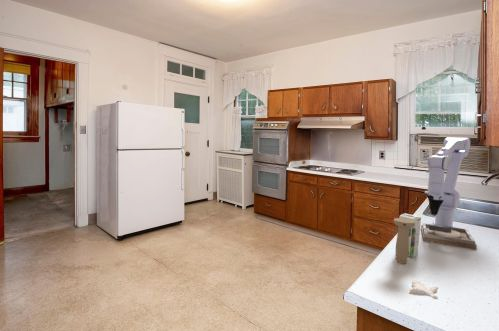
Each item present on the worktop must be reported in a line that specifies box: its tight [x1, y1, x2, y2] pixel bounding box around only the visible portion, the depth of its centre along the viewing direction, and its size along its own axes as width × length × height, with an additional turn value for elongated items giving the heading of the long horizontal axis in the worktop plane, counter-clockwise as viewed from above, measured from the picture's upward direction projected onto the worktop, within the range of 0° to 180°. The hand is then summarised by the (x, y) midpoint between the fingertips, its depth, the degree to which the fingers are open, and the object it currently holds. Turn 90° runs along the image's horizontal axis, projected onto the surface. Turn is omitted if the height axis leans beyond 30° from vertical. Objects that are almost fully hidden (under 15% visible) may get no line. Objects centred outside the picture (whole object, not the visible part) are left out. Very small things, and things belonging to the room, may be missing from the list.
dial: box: [428, 223, 461, 238], centre depth 125 cm, size 12×10×3 cm
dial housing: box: [420, 222, 478, 250], centre depth 125 cm, size 18×18×3 cm
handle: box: [393, 217, 415, 265], centre depth 100 cm, size 5×6×15 cm
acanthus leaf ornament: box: [409, 278, 439, 300], centre depth 83 cm, size 8×7×2 cm
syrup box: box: [398, 213, 422, 258], centre depth 108 cm, size 6×6×14 cm
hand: (433, 212), depth 131 cm, fingers open, 6 cm apart
